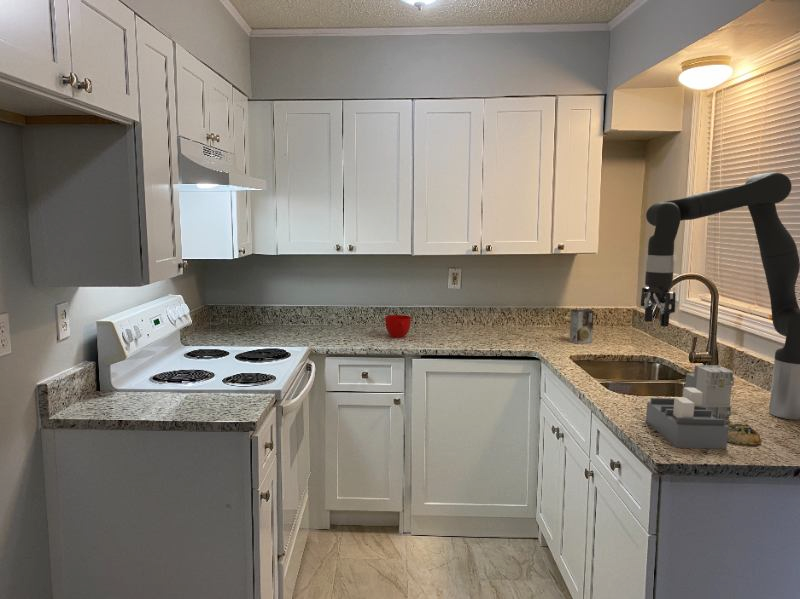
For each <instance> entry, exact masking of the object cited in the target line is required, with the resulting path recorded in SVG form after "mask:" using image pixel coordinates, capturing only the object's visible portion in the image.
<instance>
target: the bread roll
mask: <svg viewBox="0 0 800 599" xmlns="http://www.w3.org/2000/svg"><path fill="white" fill-rule="evenodd" d="M725 425H727V426H728V427H729V429H728V439H727V441H728V442H727V443H730V442H731V444H734V443H735V445H739V446H740V445H741V446H747V445H748V446H758V445H759V444H761V442H762V439H761V435H760V434H759V433H758V432H757V431H756V430H755V429H754V428H752V427H751V426H750V425H749V424H748V423H746V424H742V423H740V422H738V423H731V424H730V423H725Z"/></svg>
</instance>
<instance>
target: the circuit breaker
mask: <svg viewBox="0 0 800 599" xmlns="http://www.w3.org/2000/svg"><path fill="white" fill-rule="evenodd" d="M734 374H735V371H732V369H728V368H726V367H723V366H721V365H714V364H713V365H712V364H711V365H707V364H706V365H705V364H704V365H703V364H702V365H700V364H697V365H696V364H695V365H694V372H693V373H689V372H688V373H686V375H685V383H684V384H685V385H684V387H690V388H696V389H697V390H699V391H701V392H702V393H703V396H702V406H704V407H706V410H711V411H712V412H711V416H713V417H714V418H718V419H724V420H725V422H730V421H731V419H730V417H731V415H732V405H731V398H732V397H731V395H732V387H734V385H735V377H734Z"/></svg>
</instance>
